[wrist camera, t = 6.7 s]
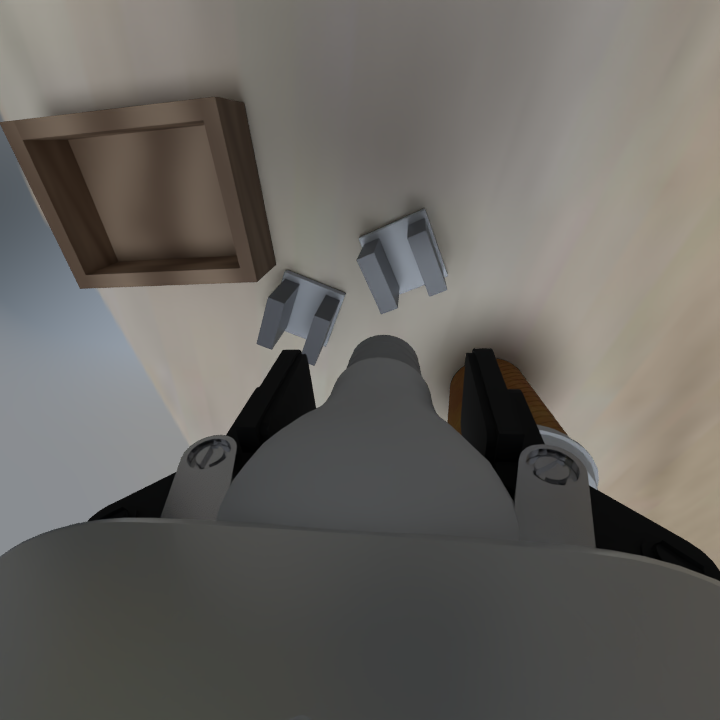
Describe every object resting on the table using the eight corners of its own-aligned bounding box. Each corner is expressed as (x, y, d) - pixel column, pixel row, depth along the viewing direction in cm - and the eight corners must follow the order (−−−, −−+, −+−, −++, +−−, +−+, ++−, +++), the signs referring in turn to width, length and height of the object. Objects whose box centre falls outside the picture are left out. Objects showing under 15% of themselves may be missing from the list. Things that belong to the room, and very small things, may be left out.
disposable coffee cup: (452, 440, 36) (467, 559, 26) (415, 362, 32) (415, 467, 22) (555, 413, 33) (619, 537, 23) (529, 323, 29) (592, 425, 19)
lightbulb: (294, 281, 13) (17, 652, 4) (472, 272, 12) (690, 718, 3) (319, 415, 16) (203, 798, 7) (462, 415, 15) (551, 851, 6)
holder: (244, 102, 24) (214, 96, 20) (276, 264, 29) (257, 281, 25) (55, 124, 26) (-1, 122, 22) (117, 271, 31) (79, 288, 28)
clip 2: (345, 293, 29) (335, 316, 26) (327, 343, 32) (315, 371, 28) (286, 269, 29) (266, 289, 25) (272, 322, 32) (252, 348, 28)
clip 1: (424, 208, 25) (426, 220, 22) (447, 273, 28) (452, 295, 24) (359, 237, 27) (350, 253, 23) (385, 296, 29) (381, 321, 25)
